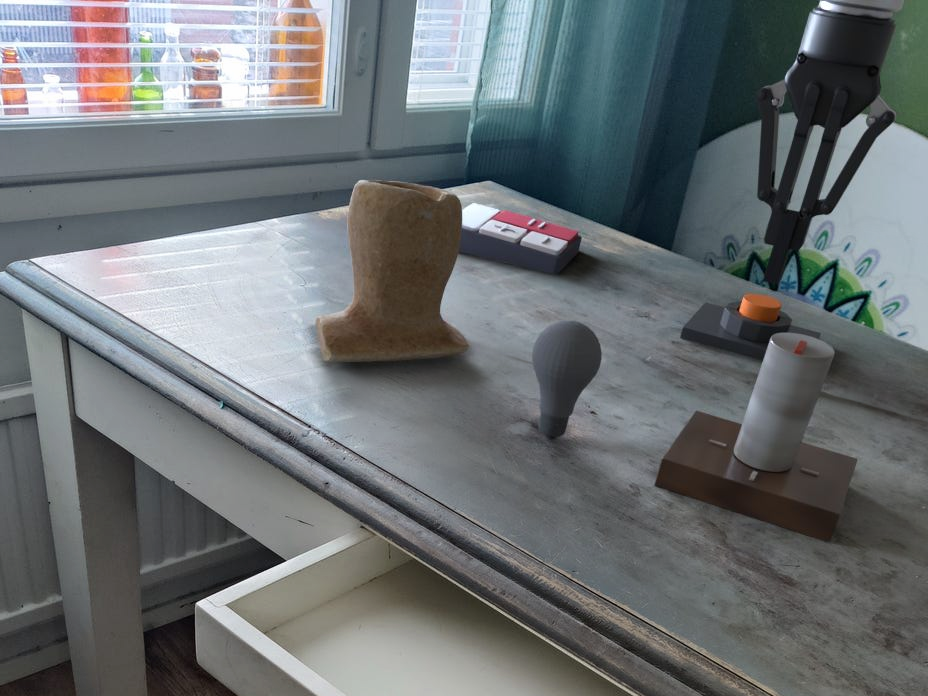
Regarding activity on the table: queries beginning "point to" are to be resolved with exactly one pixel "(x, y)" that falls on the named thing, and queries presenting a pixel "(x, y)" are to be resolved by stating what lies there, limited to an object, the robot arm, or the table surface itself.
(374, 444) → the table surface
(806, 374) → the dial
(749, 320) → the button block
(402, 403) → the table surface
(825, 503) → the dial panel
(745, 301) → the plunger
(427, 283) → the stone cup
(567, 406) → the light bulb
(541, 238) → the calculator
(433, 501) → the table surface
